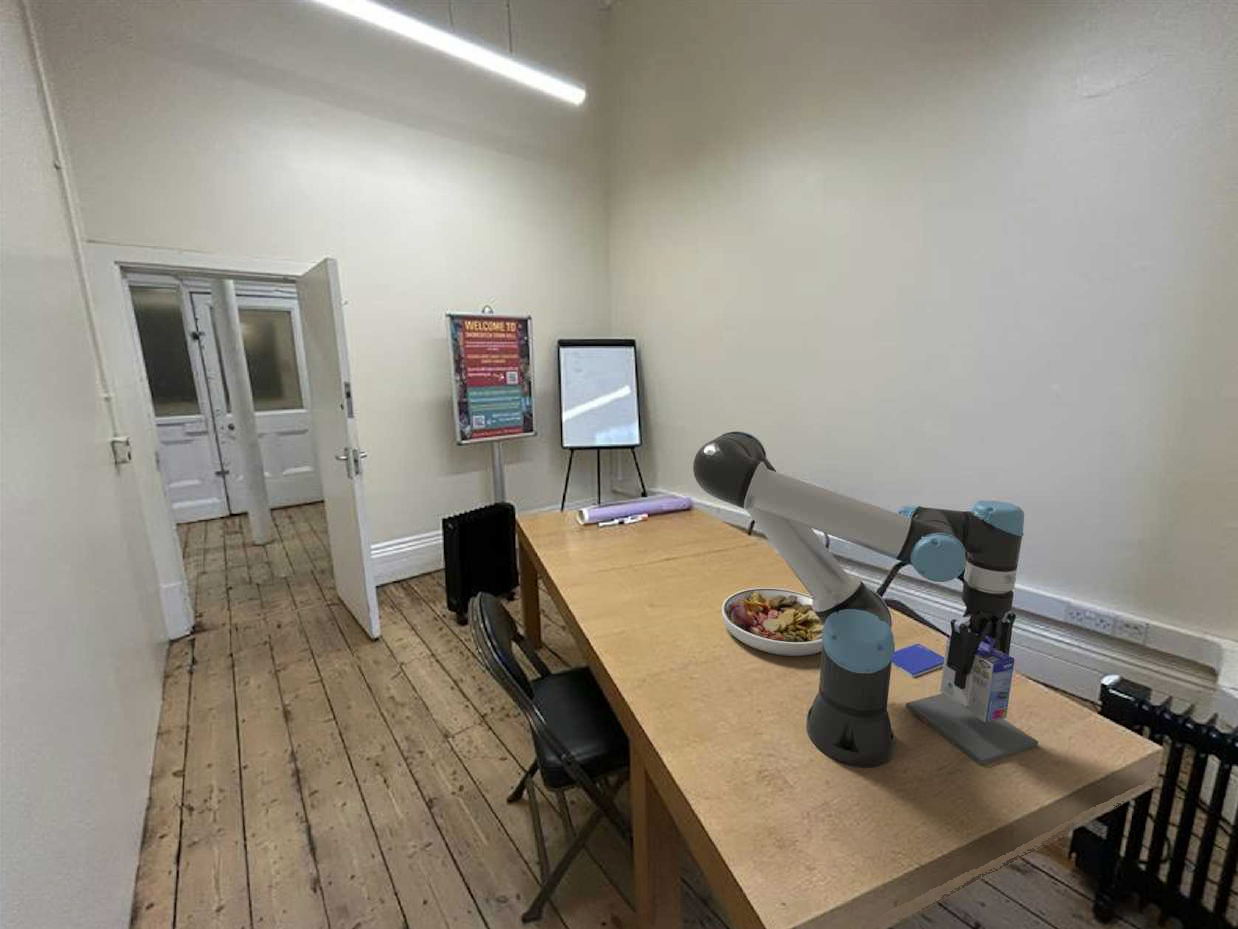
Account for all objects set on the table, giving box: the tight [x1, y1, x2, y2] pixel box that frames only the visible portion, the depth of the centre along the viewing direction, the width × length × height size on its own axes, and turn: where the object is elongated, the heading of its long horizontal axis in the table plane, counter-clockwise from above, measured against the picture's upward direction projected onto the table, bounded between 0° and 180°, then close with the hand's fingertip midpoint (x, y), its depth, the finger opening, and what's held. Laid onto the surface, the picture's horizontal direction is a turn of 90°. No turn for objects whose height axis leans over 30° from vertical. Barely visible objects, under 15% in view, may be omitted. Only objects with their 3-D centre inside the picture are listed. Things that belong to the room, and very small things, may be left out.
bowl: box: [721, 587, 824, 657], centre depth 135 cm, size 30×30×8 cm
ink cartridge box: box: [939, 633, 1015, 722], centre depth 97 cm, size 10×6×14 cm, turn 17°
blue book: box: [891, 643, 945, 678], centre depth 121 cm, size 2×8×12 cm
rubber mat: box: [905, 693, 1039, 766], centre depth 99 cm, size 14×16×1 cm
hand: (972, 698), depth 98 cm, fingers closed on ink cartridge box, 5 cm apart
